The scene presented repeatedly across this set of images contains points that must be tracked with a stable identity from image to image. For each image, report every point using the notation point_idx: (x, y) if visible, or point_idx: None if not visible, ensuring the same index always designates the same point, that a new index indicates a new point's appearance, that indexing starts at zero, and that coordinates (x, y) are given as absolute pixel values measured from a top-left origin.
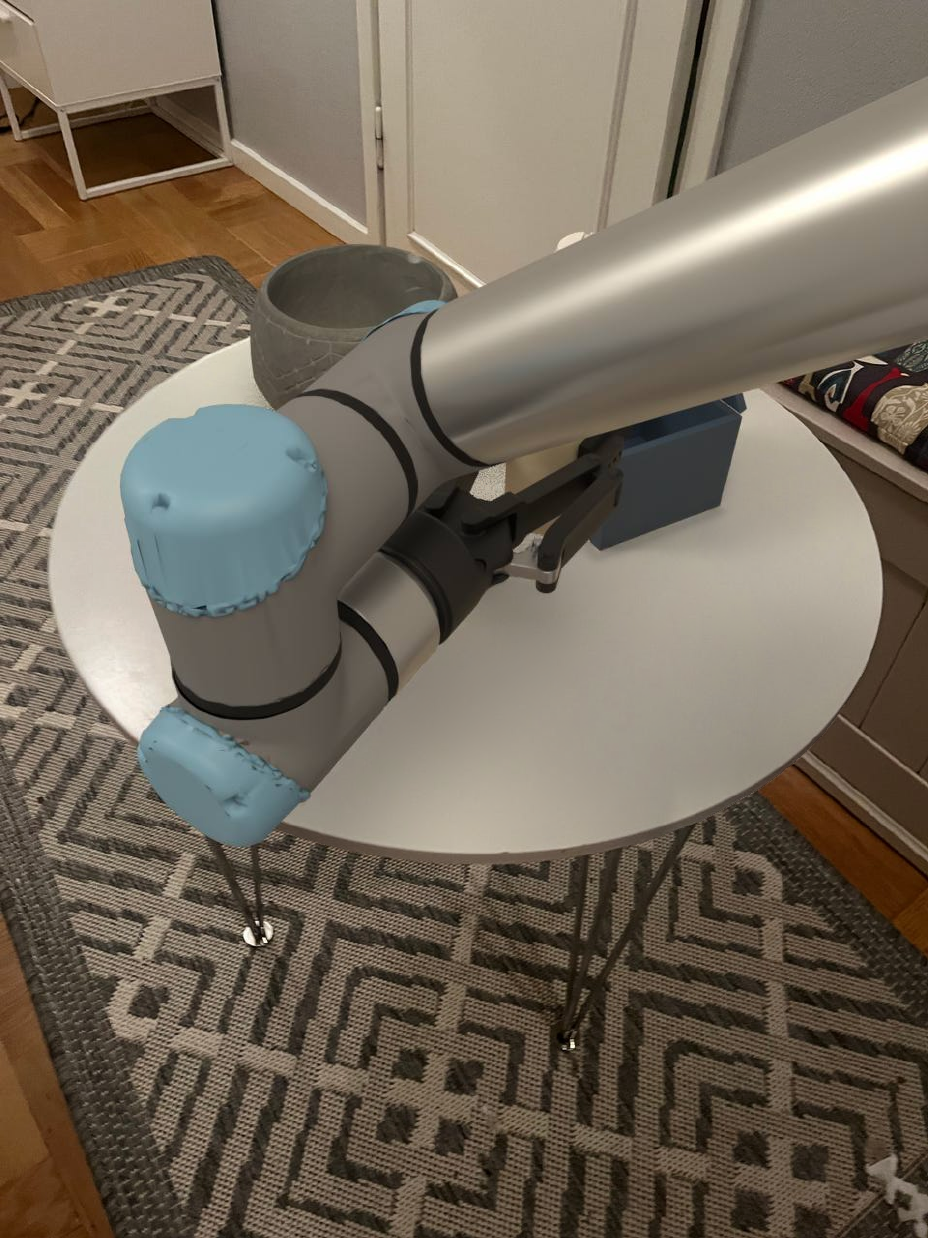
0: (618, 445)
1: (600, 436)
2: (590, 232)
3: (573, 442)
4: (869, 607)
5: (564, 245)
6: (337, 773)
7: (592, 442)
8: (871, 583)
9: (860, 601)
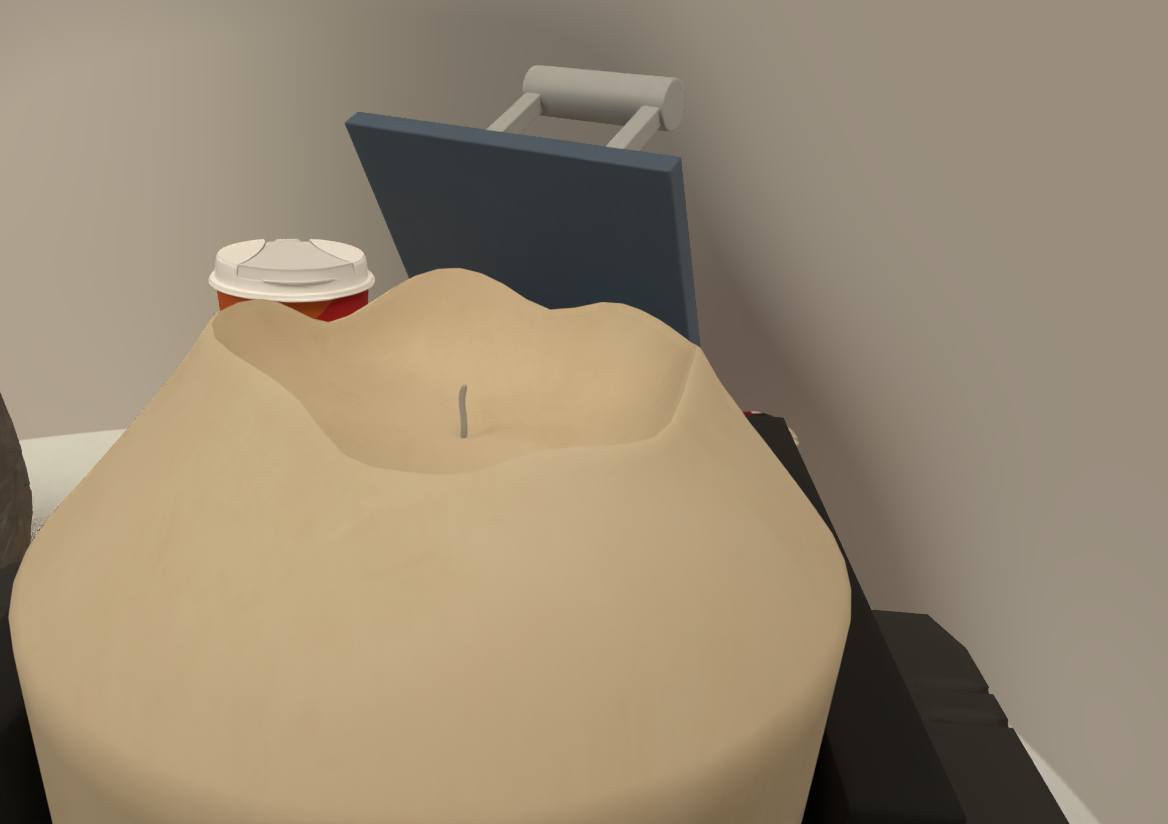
0: (975, 683)
1: (893, 660)
2: (276, 239)
3: (799, 805)
4: (1092, 818)
5: (231, 254)
6: None
7: (905, 737)
8: (1038, 756)
9: (1066, 809)
